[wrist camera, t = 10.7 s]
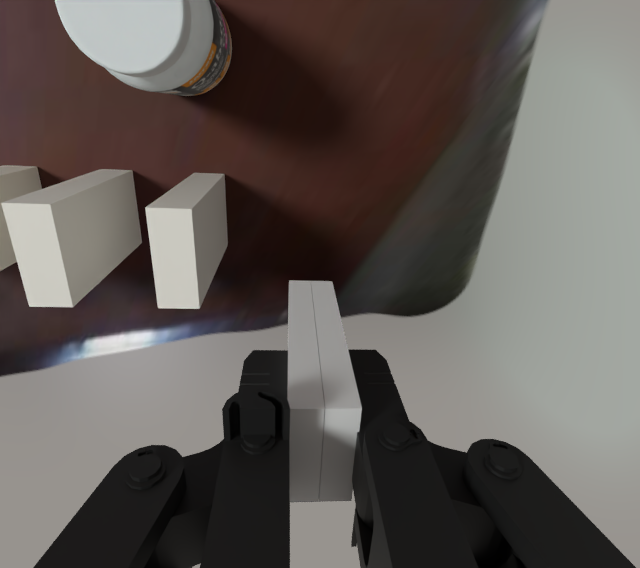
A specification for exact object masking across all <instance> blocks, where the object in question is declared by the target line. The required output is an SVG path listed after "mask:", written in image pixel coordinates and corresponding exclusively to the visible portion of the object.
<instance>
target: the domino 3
mask: <svg viewBox="0 0 640 568" xmlns="http://www.w3.org/2000/svg"><path fill="white" fill-rule="evenodd" d="M145 210H146V218H147V226H148V234H149V242H150V249H151V257H152V265H153V273H154V281H155V288H156V296H157V304H158V308H180V309H200V307H201V304H202V302H203V300H204V298H205V295H206V293H207V291H208V289H209V286H210V284H211V282H212V280H213V277H214V275H215V273H216V271H217V268H218V266H219V264H220V261H221V259H222V257H223V255H224V252H225V250H226V248H227V246H228V236H227V214H226V192H225V174H212V173H193V174H192V175H190V176H189V177H188V178H186V179H185V180H183V181H182V182H181V183H179V184H178V185H176V186H175V187H173V188H172V189H171V190H169V191H168V192H166V193H165V194H164V195H162V196H161V197H159V198H158V199H157V200H155V201H154V202H152V203H151V204H149V205H148V206H147V207H145Z"/></svg>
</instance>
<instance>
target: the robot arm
mask: <svg viewBox="0 0 640 568" xmlns="http://www.w3.org/2000/svg"><path fill="white" fill-rule="evenodd" d="M222 411H223V426H224V439H223V440H222V441H221V442H220V443H219V444H217V445H216V446H214V447H212V448H211V449H208V450H205V451H203V452H200V453H197V454H193V455H189V456H186V457H182V456H181V455H180V454H179V453H178V452H177V450H175V449H173V448H170V447H168V446H165V445H151V446H147V447H143V448H139V449H137V450H135V451H133V452H131V453H129V454H127V455H126V456H124V457H123V458H122V459H121V460H120V461H119V462H118V463H117V464H116V465H114V467H113V468H112V469H111V470H110V472H109V473H108V474H107V475H106V477H105V478H104V479H103V481H102V482H101V483H100V484H99V486H98V487H97V488H96V489H95V491H94V492H93V493H92V494H91V496H90V497H89V498H88V499H87V501H86V502H85V503H84V505H83V506H82V507H81V508H80V510H79V511H78V512H77V513H76V515H75V516H74V517H73V518H72V520H71V521H70V522H69V523H68V525H67V526H66V527H65V529H64V530H63V531H62V532H61V533H60V535H59V536H58V537H57V539H56V540H55V541H54V542H53V544H52V545H51V546H50V547H49V549H48V550H47V551H46V552H45V554H44V555H43V556H42V557H41V559H40V560H39V561H38V563H37V564H36V565H35V566H34V568H192V566H195V565H197V564H200V563H201V565H200V568H290V502H314V501H315V502H316V501H318V500H319V501H351V499H352V490H354V496H355V502H356V509H355V516H354V524H353V533H352V547H353V546H356V545H357V546H358V553H359V560H360V566H361V568H636V567H635V566H634V565H633V564H632V563H631V562H630V561H629V560H628V559H627V558H626V557H625V556H624V555H623V554H622V553H621V552H620V551H619V550H618V549H617V548H616V547H615V546H614V545H613V544H612V543H611V541H610V540H608V538H607V537H605V535H604V534H603V533H602V532H601V531H600V530H599V529H598V528H597V527H596V526H595V525H594V524H593V523H592V522H591V521H590V520H589V519H588V518H587V517H586V516H585V515H584V514H583V513H582V511H581V510H580V509H579V508H577V506H576V505H575V504H574V503H573V502H572V501H571V500H570V499H569V498H568V497H567V496H566V495H565V494H564V493H563V492H562V491H561V490H560V489H559V488H558V487H557V486H556V485H555V484H554V483H553V482H552V481H551V479H549V478H548V476H547V475H546V474H545V473H544V472H543V471H542V470H541V469H540V468H539V467H538V466H537V465H536V464H535V463H534V462H533V461H532V460H531V459H530V458H529V457H528V456H527V455H526V454H524V453H523V452H522V451H520V450H519V449H518V448H516V447H514V446H512V445H510V444H508V443H506V442H503V441H499V440H494V439H481V440H479V441H477V442H474V443H473V444H472V445H471V446H470V448H469V450H468V452H467V453H465V452H461V451H457V450H453V449H449V448H445V447H441V446H439V445H436V444H433V443H431V442H430V441H428V440H427V439H426V437H425V436H424V434H423V432H422V431H421V429H419V428H418V427H417V426H415V425H414V424H413V423H412V422H409V419H408V417H407V414H406V412H405V409H404V406H403V403H402V401H401V398H400V395H399V393H398V390H397V387H396V385H395V384H394V380H393V377H392V375H391V371H390V369H389V366H388V363H387V361H386V359H385V358H384V357H383V356H382V355H380V354H379V353H378V352H377V351H376V350H348V347H347V342H346V338H345V334H344V330H343V325H342V321H341V317H340V313H339V308H338V304H337V300H336V296H335V291H334V287H333V283H332V281H294V280H289V307H288V351H277V350H273V351H271V350H270V351H269V350H265V351H264V350H261V351H260V350H254V351H252V353H251V354H250V355H249V356H248V357H247V358H246V359H245V361H244V365H243V370H242V376H241V381H240V386H239V392H238V393H236V394H234V395H233V396H232V397H231V398H229V399H228V400H227V401H226V403H225V405H224V407H223V409H222Z"/></svg>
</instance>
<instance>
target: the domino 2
mask: <svg viewBox="0 0 640 568" xmlns="http://www.w3.org/2000/svg"><path fill="white" fill-rule="evenodd" d="M1 205H2V208H3V212H4V216H5V219H6V223H7V227H8V230H9V234H10V238H11V241H12V245H13V249H14V252H15V256H16V260H17V263H18V267H19V271H20V274H21V278H22V282H23V285H24V289H25V293H26V296H27V300H28V304H29V307H74V306H75V305H76V304H77V303H78V302H79V301H80V300H81V299H82V298H83V297H85V296H86V295H87V294H88V293H89V292H90V291H91V290H92V289H93V288H94V287H95V286H96V285H97V284H98V283H100V282H101V281H102V280H103V279H104V278H105V277H106V276H107V275H108V274H109V273H110V272H111V271H112V270H113V269H115V268H116V267H117V266H118V265H119V264H120V263H121V262H122V261H123V260H124V259H125V258H126V257H127V256H128V255H130V254H131V253H132V252H133V251H134V250H135V249H136V248H137V247H138V246H139V245H140V244H141V243H142V238H141V230H140V223H139V216H138V208H137V201H136V194H135V186H134V179H133V171H132V170H110V169H100V170H97V171H94V172H91V173H88V174H85V175H82V176H79V177H76V178H73V179H70V180H67V181H64V182H61V183H58V184H55V185H52V186H49V187H46V188H43V189H40V190H38V191H35V192H32V193H29V194H26V195H23V196H20V197H17V198H14V199H11V200H8V201H5V202H2V203H1Z"/></svg>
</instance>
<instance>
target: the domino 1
mask: <svg viewBox="0 0 640 568" xmlns="http://www.w3.org/2000/svg"><path fill="white" fill-rule="evenodd" d="M40 189H42V186H41V182H40V177H39V173H38V169H37V167H32V166H7V165H4V166H0V271H2V270H3V269H5V268H7V267H9V266H10V265H12V264H14V263H16V262H17V260H16V256H15V252H14V249H13V245H12V241H11V238H10V234H9V230H8V227H7V223H6V219H5V216H4V212H3V208H2V205H1V203H2V202H5V201H8V200H11V199H14V198H17V197H20V196H23V195H26V194H29V193H32V192H35V191H38V190H40Z"/></svg>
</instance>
